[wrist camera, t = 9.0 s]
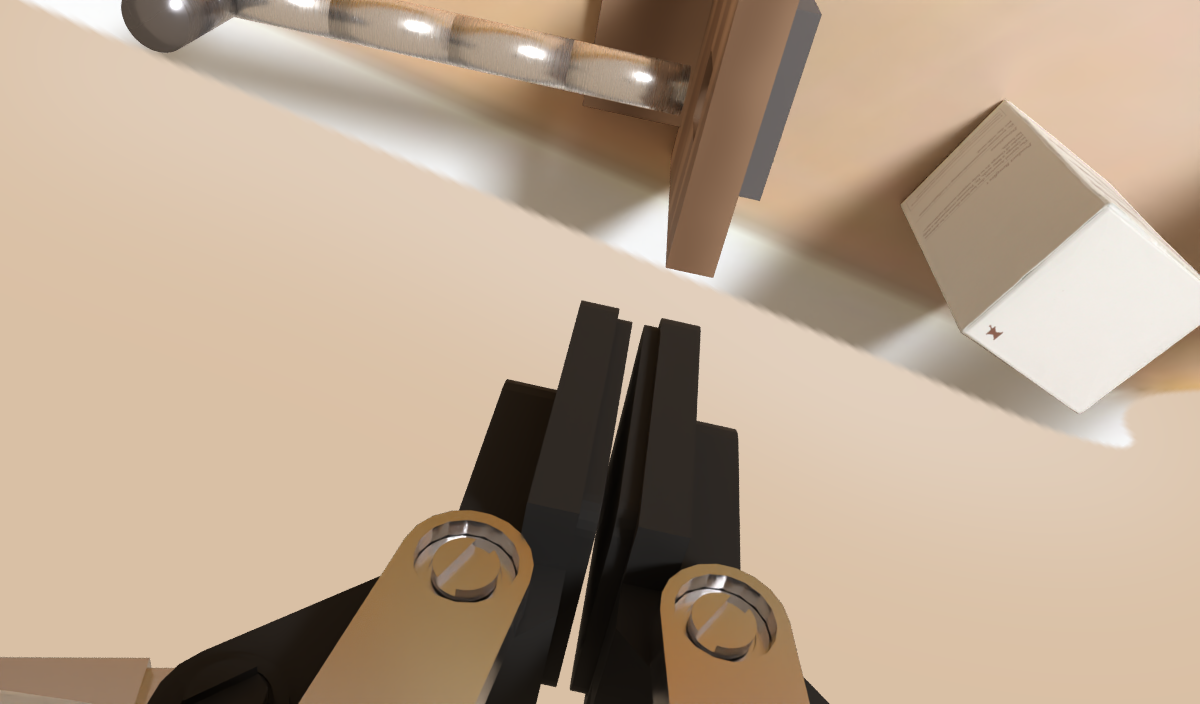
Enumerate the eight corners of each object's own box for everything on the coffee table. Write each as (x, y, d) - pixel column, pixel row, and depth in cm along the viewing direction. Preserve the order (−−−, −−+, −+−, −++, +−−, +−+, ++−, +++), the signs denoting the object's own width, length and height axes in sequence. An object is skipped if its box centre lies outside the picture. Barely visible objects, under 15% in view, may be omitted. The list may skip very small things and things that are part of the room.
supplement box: (993, 278, 48) (1076, 422, 38) (895, 203, 46) (954, 333, 36) (1109, 177, 45) (1236, 307, 34) (1008, 91, 43) (1110, 201, 32)
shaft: (692, 55, 36) (692, 103, 31) (678, 110, 37) (676, 165, 33) (197, -57, 35) (117, -25, 30) (201, 4, 37) (125, 44, 32)
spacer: (800, -29, 41) (821, 14, 34) (749, 135, 45) (759, 201, 38) (769, -36, 40) (783, 6, 34) (721, 128, 45) (726, 193, 38)
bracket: (778, -83, 39) (808, -28, 29) (708, 164, 46) (713, 277, 36) (625, -119, 39) (603, -75, 29) (577, 136, 46) (546, 242, 36)
